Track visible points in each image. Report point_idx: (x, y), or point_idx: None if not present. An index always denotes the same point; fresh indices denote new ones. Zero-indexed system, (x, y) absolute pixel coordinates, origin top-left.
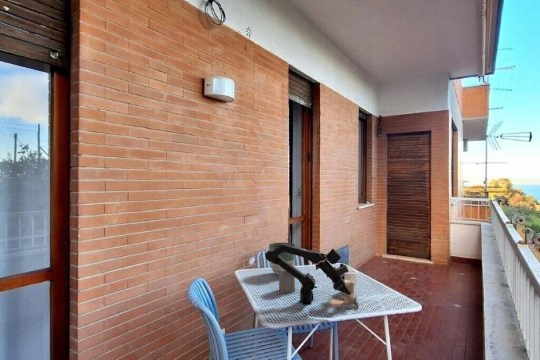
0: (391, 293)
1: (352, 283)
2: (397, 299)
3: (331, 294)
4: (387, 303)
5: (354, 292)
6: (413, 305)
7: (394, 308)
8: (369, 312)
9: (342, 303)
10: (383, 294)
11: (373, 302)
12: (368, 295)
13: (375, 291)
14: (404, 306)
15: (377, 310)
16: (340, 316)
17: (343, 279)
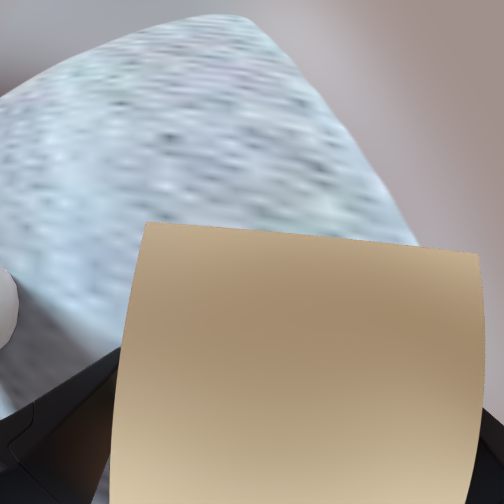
0: (56, 76)
1: (475, 304)
2: (139, 54)
3: None
4: (197, 89)
5: (3, 271)
6: (226, 19)
7: (282, 74)
8: (399, 225)
9: None
10: (55, 104)
11: (175, 159)
12: (42, 179)
13: (6, 140)
14: (243, 40)
15: (344, 162)
16: None
17: (10, 494)
